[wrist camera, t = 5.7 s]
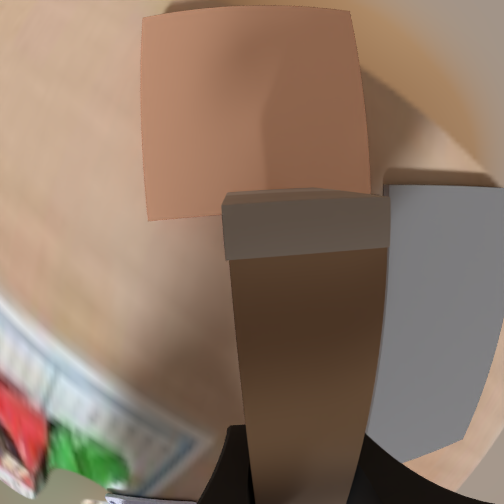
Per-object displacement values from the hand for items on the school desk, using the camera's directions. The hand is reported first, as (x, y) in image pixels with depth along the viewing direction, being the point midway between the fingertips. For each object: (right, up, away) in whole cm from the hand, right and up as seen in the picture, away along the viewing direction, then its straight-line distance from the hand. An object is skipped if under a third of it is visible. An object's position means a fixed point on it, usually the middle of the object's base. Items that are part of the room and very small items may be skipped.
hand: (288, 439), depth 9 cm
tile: (-1, +8, +4) cm, 9 cm away
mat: (+11, 0, +7) cm, 13 cm away
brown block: (0, +1, +2) cm, 2 cm away
